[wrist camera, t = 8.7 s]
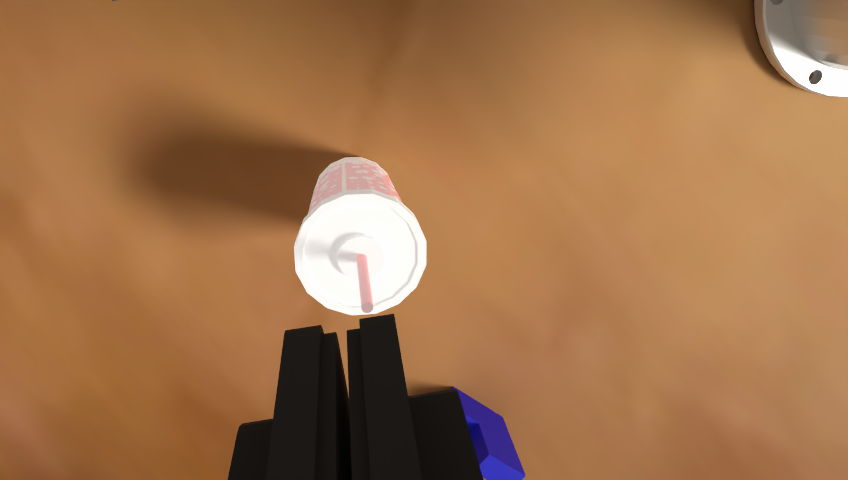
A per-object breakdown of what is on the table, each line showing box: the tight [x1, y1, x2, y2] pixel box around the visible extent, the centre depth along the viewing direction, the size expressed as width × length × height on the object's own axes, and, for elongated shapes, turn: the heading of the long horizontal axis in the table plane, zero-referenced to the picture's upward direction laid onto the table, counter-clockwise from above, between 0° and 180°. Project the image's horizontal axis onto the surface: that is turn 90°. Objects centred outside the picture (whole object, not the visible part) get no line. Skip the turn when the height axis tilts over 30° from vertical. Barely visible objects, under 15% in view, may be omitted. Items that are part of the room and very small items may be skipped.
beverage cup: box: [294, 157, 426, 315], centre depth 33 cm, size 6×6×14 cm
